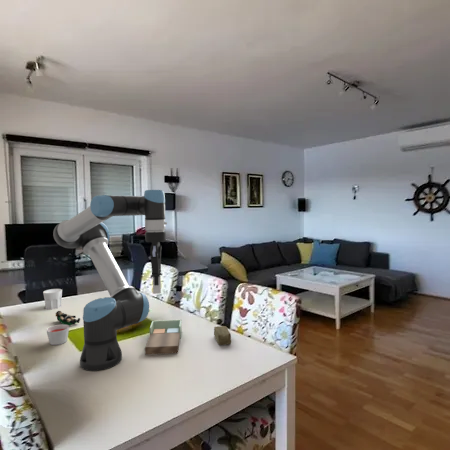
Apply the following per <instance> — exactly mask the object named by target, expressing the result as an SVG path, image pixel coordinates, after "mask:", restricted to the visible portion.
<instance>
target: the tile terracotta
mask: <svg viewBox="0 0 450 450" xmlns="http://www.w3.org/2000/svg"><path fill="white" fill-rule="evenodd" d="M160 333H165V329H154V331H153V334H160Z"/></svg>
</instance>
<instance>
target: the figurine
mask: <svg viewBox="0 0 450 450" xmlns="http://www.w3.org/2000/svg"><path fill="white" fill-rule="evenodd" d="M55 317H56V318H57V319H56V320H57V321H58V322H60V323H61V325H62V324H64V325H69V327H70V326H73V325H76V324H77V323H78V324H79V323H80V322H81V318H80V317H79V318H77V317H76V315H71V314H67V313H64V312H62V311H61V310H57V311H56V312H55ZM76 318H77V319H76Z"/></svg>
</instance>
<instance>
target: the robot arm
mask: <svg viewBox="0 0 450 450" xmlns="http://www.w3.org/2000/svg"><path fill="white" fill-rule="evenodd" d="M143 193H144V195H109V194H101V195H99V194H98V195H95V196H93V197H92V198H91V199H92V200H90V205H89V206H88V207H86V208H85V209H84V210H82V211H81V212H79V213H77V214H76V215H74V216H73V217H72V218H70V219H65V220H64V219H63V220H62V221H61V222H59V223H58V224H56V226H55V227H54V229H53V232H52V233H53V235H52V236H53V239H54V241H55V242H56V244H57V245H59V246H60V247H63V248H65V249H77V248H80V249H82V251H83V253H84V254H85V255H88V256H89V257H90V259H91V261H92V263H93V265H94V268H95V269H96V271H97V272H98V275H99V276H100V278H101V280H102V283H103V284H104V286H105V288H106V290H107V292H108V294H109V295H110V297H103V298H101V297H99V298H97V299H94V300H91V301H89V302H87V304H85V306H84V307H83V310H82V320H83V323H82V324H83V340H84V341H83V343H84V344H83V347H82V351H81V353H80V358H79V366H80V368H81V369H82V370H84V371H92V372H93V371H94V372H95V371H96V372H97V371H103V370H107V369H110V368H112V367H114V366H116V365H118V364H120V362H121V361H122V360H123V353H122V349H121V346H120V345H119V341H118V338H117V337H118V336H117V331H118V330H121V329H124V328H126V327H129V326H132V325H136V324H139V323H140V322H142V321H144V320H146V319H147V317H148V315H149V313H150V302H149V298H148V297H147V295H146V294H145V293H143V292H138V291H137V290H136V288H135V287H134V286H131V285H129V283H128V281H127V279H126V277H125V275H124V274H123V272H122V270H121V267H120V266H119V265H118V263H117V261H116V259H115V257H114V255H113V254H112V252H111V249H109V247H108V245H109V243H110V242H109V240H110V236H111V234H110V231H109V228H108V226H107V225H106V224H105V223H104V222H105V221H106V220H108V219H110V218H112V217H122V216H123V217H124V216H128V217H129V216H144V231H146V232H145V240H144V241H145V242H146V243H151V245H150V246H149V254H150V265H151V266H150V267H151V274H150V277H152V294H158V295H159V294H161V293H162V288H161V287H162V282H161V281H162V280H161V279H162V278H161V276H163V273H162V268H161V267H162V249H163V248H162V245H161V243H164V242H166V240H167V234H166V233H167V232H166V231H165V230H166V225H168V222H167V221H166V197H165V195H166V193H165V191H164V190H162V189H146V190H144V192H143Z"/></svg>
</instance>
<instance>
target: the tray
mask: <svg viewBox="0 0 450 450" xmlns="http://www.w3.org/2000/svg"><path fill="white" fill-rule="evenodd" d="M182 323H183V322H182V319H167V320H166V319H164V320H163V319H162V320H152V321H151V324H150V327H149V335H150V334H153V331H154V329H165V333H167V330H168V329H170V328H179V333H180V340H181V338H182V332H183V331H182V330H183V329H182V328H183V327H182V326H183V325H182Z"/></svg>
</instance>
